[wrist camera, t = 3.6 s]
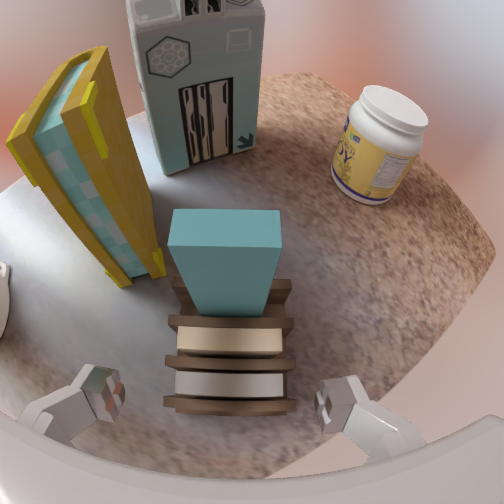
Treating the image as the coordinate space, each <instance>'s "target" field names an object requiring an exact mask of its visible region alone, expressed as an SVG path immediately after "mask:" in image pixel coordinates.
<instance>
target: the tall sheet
mask: <svg viewBox="0 0 504 504" xmlns="http://www.w3.org/2000/svg"><path fill="white" fill-rule="evenodd" d="M167 246H168V248H169V250H170V253H171V255H172V257H173V259H174V262H175V264H176V266H177V268H178V270H179V273H180V275H181V277H182V279H183V281H184V283H185V285H186V287H187V290H188V292H189V294H190V296H191V298H192V300H193V302H194V304H195V306H196V308H197V310H198V312H199V314H200V316H201V317H233V318H261V317H262V314H263V310H264V307H265V304H266V301H267V297H268V294H269V291H270V287H271V284H272V281H273V277H274V274H275V271H276V267H277V264H278V260H279V257H280V253H281V250H282V238H281V223H280V211H279V210H246V209H174V211H173V217H172V222H171V227H170V233H169V238H168V244H167Z"/></svg>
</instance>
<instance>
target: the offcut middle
mask: <svg viewBox="0 0 504 504" xmlns="http://www.w3.org/2000/svg"><path fill="white" fill-rule="evenodd" d="M177 349H179V350H180V351H182V352H183V353H185V354H186V355H188V356H189V357H197V358H216V359H273V358H275V357H276V356H277V355H278V354H279V353H280V352H281V351H282V328H280V329H244V328H207V327H187V326H178V337H177Z"/></svg>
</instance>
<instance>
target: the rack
mask: <svg viewBox="0 0 504 504" xmlns="http://www.w3.org/2000/svg"><path fill="white" fill-rule="evenodd" d="M172 287H173V289H174V290H175V292H176V294H177V295H178V297H179V299H180V300H181V311H180V315H169V319H168V325H169V326H170V327H171V328H172V329H173V330H174V331H175V332H176V333H177V334H178V326H187V327H207V328H244V329H280V328H282V351H281V352H280V353H279V354H278V355H277V356H276V357H275V358H273V359H216V358H197V357H189V356H188V355H186V354H185V353H183V352H182V351H180V350H179V349H178V354H177V356H170V355H166V358H165V366H168V367H171V368H174V369H177V371H186V372H200V373H220V374H283V396H275V397H223V396H203V395H190V394H179V393H176V395H172V396H164V406H165V407H173V408H176V412H178V413H188V414H200V415H217V416H278V415H287V411H288V410H296V400H295V399H290V398H287V377H286V372H288V371H290V370H293V369H295V358H292V359H286V341H285V337H286V336H287V335H288V334H289V333H290V331H291V330H292V329H293V328H294V321H293V318H285V315H284V303H285V301H286V299H287V297H288V295H289V293H290V291H291V289H292V286H291V279H273V281H272V284H271V287H270V291H269V294H268V297H267V301H266V304H265V307H264V310H263V314H262V317H261V318H233V317H201V316H200V314H199V312H198V310H197V308H196V306H195V304H194V302H193V300H192V298H191V296H190V294H189V292H188V290H187V287H186V285H185V283H184V281H183V279H182V277H173V281H172Z"/></svg>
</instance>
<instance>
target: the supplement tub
mask: <svg viewBox="0 0 504 504" xmlns="http://www.w3.org/2000/svg"><path fill="white" fill-rule="evenodd" d="M427 124H428V118H427V116H426V114H425V113H424V112H423V110H422V109H421V108H420V107H419V106H418V105H417V104H415V103H414V102H413V101H411V100H410V99H409V98H407V97H405V96H404V95H402V94H400V93H398V92H396V91H394V90H391V89H389V88H386V87H382V86H377V85H369V86H366V87H365V88H364V89H363V92H362V94H361V95H360V100H358V101H356V102H355V103H354V104H353V105H352V106H351V108H350V110H349V114H348V117H347V120H346V123H345V126H344V129H343V132H342V135H341V138H340V140H339V143H338V146H337V149H336V152H335V155H334V158H333V160H332V163H331V174H332V177H333V179H334V181H335V183H336V184H337V186H338V187H339V188H340V189H341V190H342V191H343V192H344V193H345V194H346V195H348V196H349V197H351V198H352V199H354V200H356V201H359V202H361V203H365V204H370V205H377V204H382V203H384V202H386V201H388V200H389V199H390V198H391V197H392V196H393V194H394V192H395V191H396V189H397V188H398V186H399V185H400V183H401V181H402V180H403V178H404V177H405V175H406V174H407V172H408V170H409V169H410V167H411V165H412V164H413V162H414V161H415V159H416V157H417V156H418V154H419V152H420V151H421V149H422V146H423V141H424V140H423V134H424V132H425V129H426V127H427Z"/></svg>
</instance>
